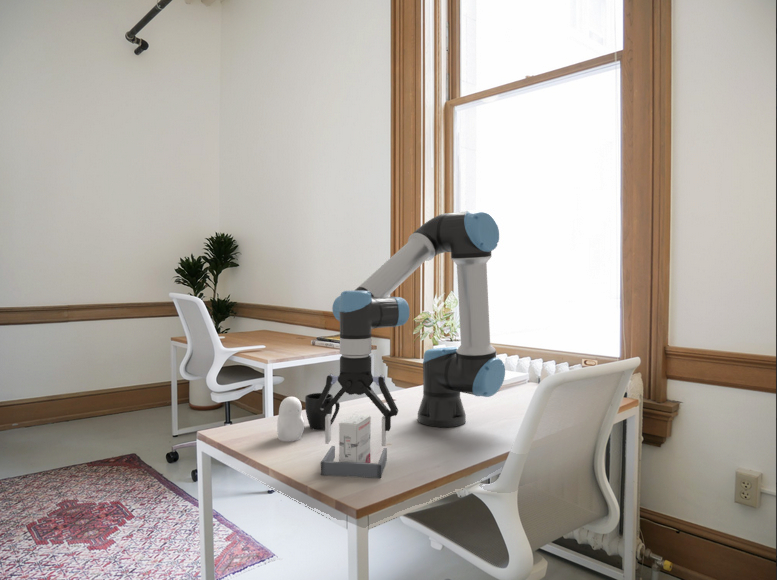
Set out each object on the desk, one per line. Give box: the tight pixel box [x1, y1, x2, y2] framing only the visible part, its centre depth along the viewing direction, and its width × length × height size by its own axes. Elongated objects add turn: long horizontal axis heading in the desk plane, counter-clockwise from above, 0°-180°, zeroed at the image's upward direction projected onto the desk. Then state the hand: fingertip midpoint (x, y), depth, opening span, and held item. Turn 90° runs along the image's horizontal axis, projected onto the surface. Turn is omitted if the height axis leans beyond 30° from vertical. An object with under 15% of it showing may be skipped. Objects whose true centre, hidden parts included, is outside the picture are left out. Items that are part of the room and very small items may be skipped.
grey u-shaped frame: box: [320, 445, 388, 479], centre depth 132 cm, size 14×12×3 cm
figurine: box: [276, 396, 305, 442], centre depth 154 cm, size 7×8×12 cm
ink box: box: [338, 414, 372, 463], centre depth 132 cm, size 9×5×12 cm, turn 159°
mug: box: [304, 392, 341, 431], centre depth 164 cm, size 8×12×10 cm
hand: (355, 443), depth 132 cm, fingers open, 13 cm apart
